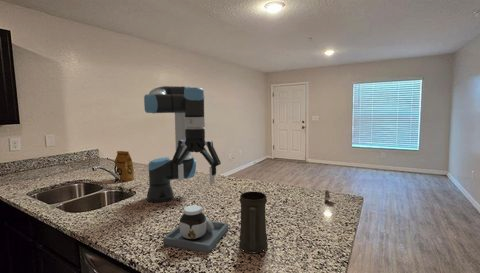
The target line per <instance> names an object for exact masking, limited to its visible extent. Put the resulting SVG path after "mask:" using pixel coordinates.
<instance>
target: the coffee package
mask: <svg viewBox="0 0 480 273" xmlns="http://www.w3.org/2000/svg"><path fill="white" fill-rule="evenodd" d="M116 153H117V154H116V156H115V160H114V166H115V165H116V164H117V172H118V173H119V175H120V180H119V181H121V182H128V183H129V182H131V181H133V180H135V178H134V177H135V176H134V171H135V170H134V163H133V159H132V157H131V154H130V153H129V151H125V150H117V151H116Z"/></svg>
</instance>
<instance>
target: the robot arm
mask: <svg viewBox="0 0 480 273" xmlns="http://www.w3.org/2000/svg"><path fill="white" fill-rule="evenodd" d="M204 92H205V91H204V88H202V87H192V86H170V85H169V86H167V85H166V86H165V85H164V86H159V87H155V88H152V90H150V91H149V93H147V94H144V96H143V103H144V104H143V105H144V106H143V107H144V112H145V113H147V114H167V113H168V114H170V113H171V114H174V135H175V137H174V138H175V139H174V140H175V152H174V154H173V157H172V159H170V158H169V157H160V158H155V159H152V160H149V163H148V169H147V170H148V184H149V187H148V190H147V194H146V201H148V202H149V203H165V202H168V201H170V200H173V199H174V197H175V196H174V191H173V188H172V186H171V181H174V180H178V182H182V181H183V180H185V179H186V180H187V179H191V178H194V176H195V174H196V170H197V169H196V168H197V161H196V158H194V155H193V154H192V153H200V154H201V155H202V157H203V158H204V159H205V160H206V161H207V163H208V164H209V165H210V166H209V169H208V170H209V185H212V184H214V183H215V176H216V175H217V167H219V166H220V165H221V160H220V157H219V155H218V154H217V152H216V149H215V147H214V142H213V140H208V141H206V140H205V139H206V138H205V137H206V130H205V126H206V125H205V124H206V123H205V93H204ZM206 147H207V149H208V150H207V149H206ZM208 151H209V152H208Z"/></svg>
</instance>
